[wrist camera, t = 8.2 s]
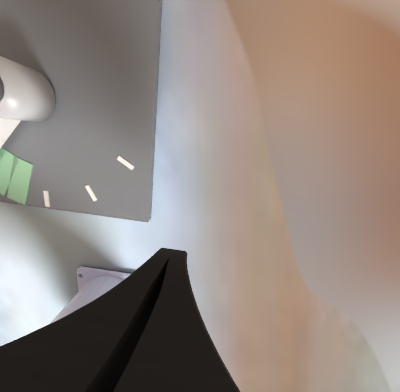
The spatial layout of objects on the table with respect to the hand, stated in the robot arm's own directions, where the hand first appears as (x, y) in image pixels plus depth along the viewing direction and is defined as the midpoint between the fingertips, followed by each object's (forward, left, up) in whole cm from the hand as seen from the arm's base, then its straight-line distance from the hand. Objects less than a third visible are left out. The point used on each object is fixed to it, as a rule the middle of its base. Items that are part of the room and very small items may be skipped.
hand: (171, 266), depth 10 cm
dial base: (+7, +15, -9) cm, 19 cm away
